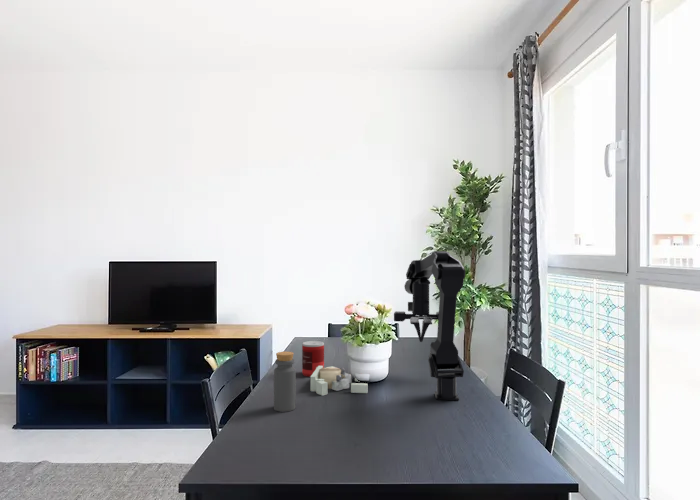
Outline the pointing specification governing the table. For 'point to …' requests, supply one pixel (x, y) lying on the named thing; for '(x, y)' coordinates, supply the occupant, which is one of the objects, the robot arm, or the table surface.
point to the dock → (322, 386)
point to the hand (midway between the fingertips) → (420, 341)
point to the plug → (329, 375)
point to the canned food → (312, 356)
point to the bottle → (284, 382)
